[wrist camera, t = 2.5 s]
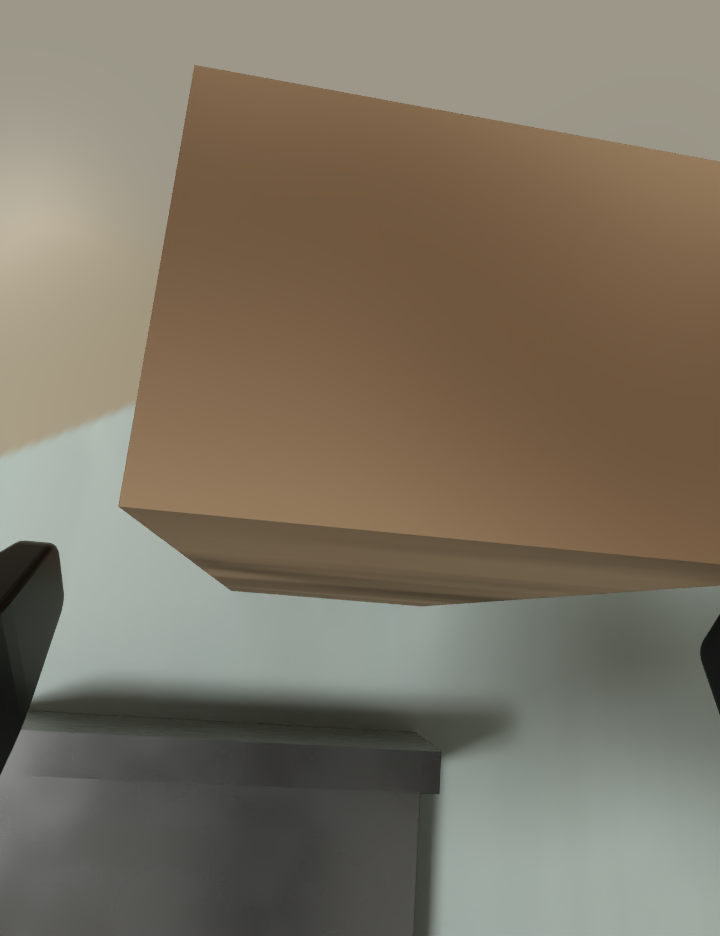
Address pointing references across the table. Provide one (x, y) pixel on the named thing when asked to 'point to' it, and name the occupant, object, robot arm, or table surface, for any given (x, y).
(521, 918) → the table surface
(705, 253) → the wooden block
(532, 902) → the table surface
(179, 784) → the track
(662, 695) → the table surface
